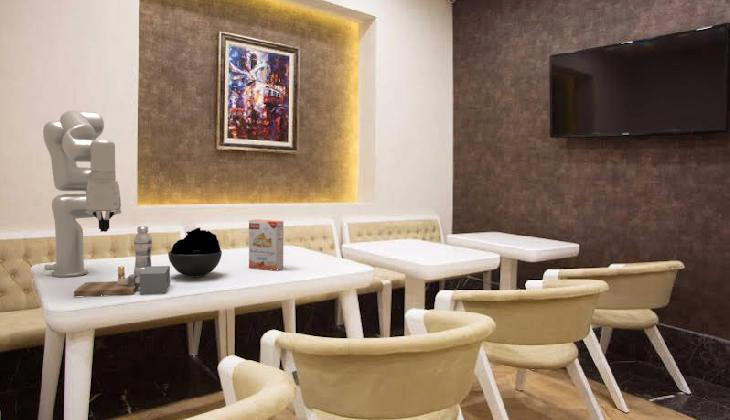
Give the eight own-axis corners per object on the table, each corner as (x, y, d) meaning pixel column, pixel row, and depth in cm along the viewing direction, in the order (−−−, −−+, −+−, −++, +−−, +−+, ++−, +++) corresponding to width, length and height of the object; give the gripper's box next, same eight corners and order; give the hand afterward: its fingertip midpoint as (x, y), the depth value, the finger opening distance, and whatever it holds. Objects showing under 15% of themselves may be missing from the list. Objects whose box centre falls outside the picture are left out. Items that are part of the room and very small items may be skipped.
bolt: (117, 283, 181) (117, 267, 180) (119, 282, 183) (118, 266, 183) (155, 282, 184) (154, 266, 183) (156, 281, 186) (155, 265, 186)
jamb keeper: (139, 294, 177) (139, 273, 177) (146, 285, 191) (146, 266, 190) (165, 293, 179) (165, 273, 179) (170, 284, 193) (169, 265, 192)
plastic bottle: (137, 277, 206) (136, 225, 204) (155, 277, 206) (154, 226, 205) (131, 280, 199) (130, 227, 198) (149, 280, 200) (149, 227, 198)
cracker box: (248, 268, 228) (248, 219, 226) (256, 266, 233) (256, 218, 232) (276, 271, 222) (276, 221, 221) (283, 268, 228) (283, 220, 226)
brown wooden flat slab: (73, 297, 173) (73, 281, 172) (85, 287, 186) (85, 273, 186) (133, 294, 177) (133, 279, 177) (140, 286, 190) (140, 271, 190)
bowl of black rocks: (202, 283, 196) (202, 233, 195) (157, 279, 202) (156, 230, 200) (231, 273, 215) (231, 227, 214) (189, 270, 221) (188, 225, 219)
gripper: (75, 177, 173) (76, 232, 175) (125, 177, 177) (125, 232, 178) (81, 176, 180) (83, 230, 182) (129, 177, 184) (130, 229, 185)
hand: (104, 231), depth 180 cm, fingers closed
